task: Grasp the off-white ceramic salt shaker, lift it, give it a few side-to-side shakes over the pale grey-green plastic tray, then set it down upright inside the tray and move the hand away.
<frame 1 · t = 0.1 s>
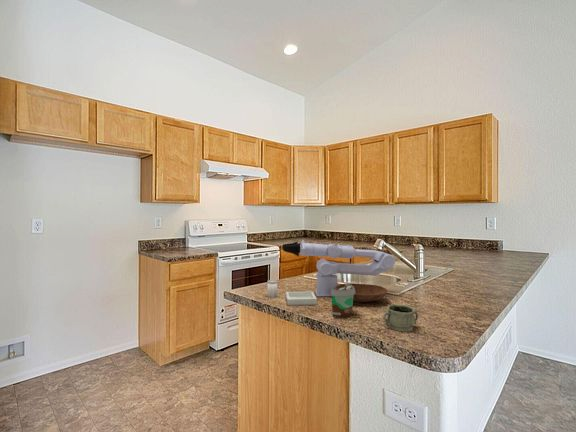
hand: (283, 247, 138), 22 cm above the countertop, tool horizontal, fingers open, 7 cm apart
tray: (300, 301, 129), on the countertop
food container: (346, 315, 112), on the countertop
vessel: (400, 327, 100), on the countertop
shaker: (272, 296, 136), on the countertop
bowl: (360, 300, 131), on the countertop
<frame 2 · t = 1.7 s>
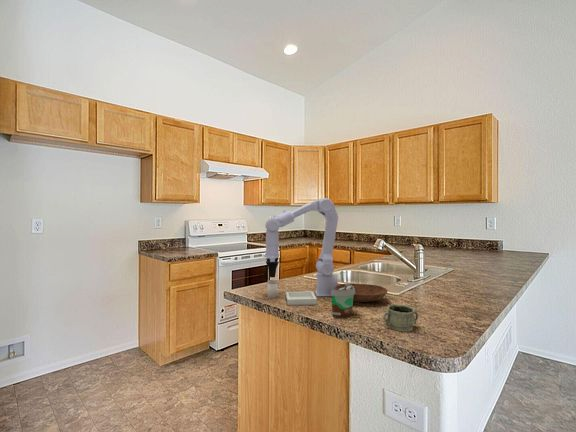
hand: (272, 275, 136), 9 cm above the countertop, tool pointing down, fingers open, 7 cm apart
nothing on the countertop moved.
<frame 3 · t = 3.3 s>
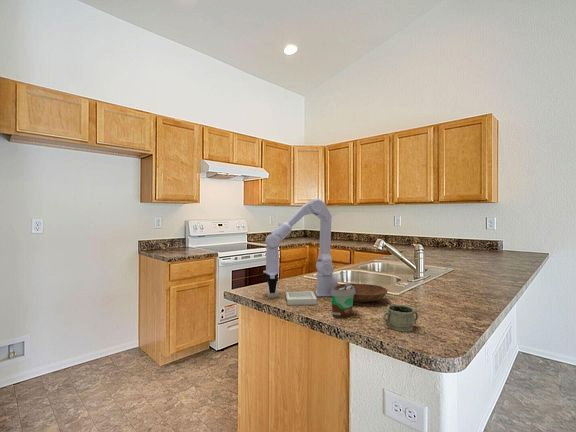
hand: (272, 291, 136), 2 cm above the countertop, tool pointing down, fingers closed on shaker, 4 cm apart
shaker: (272, 296, 136), on the countertop, touching gripper
everything else where it was.
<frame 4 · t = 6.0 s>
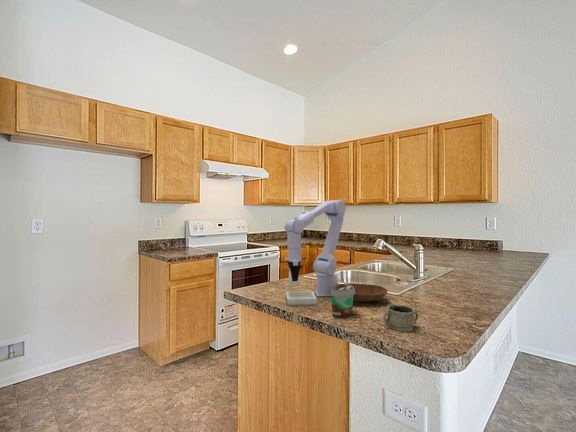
hand: (294, 279, 129), 9 cm above the countertop, tool pointing down, fingers closed on shaker, 4 cm apart
shaker: (294, 284, 129), point 7 cm above the countertop, touching gripper
everything else where it was.
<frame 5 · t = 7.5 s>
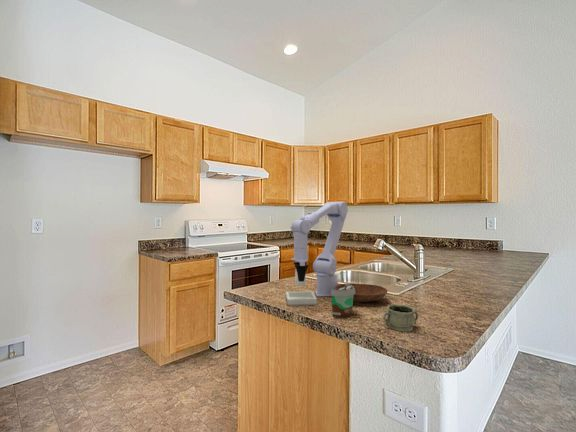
hand: (300, 280, 129), 9 cm above the countertop, tool pointing down, fingers closed on shaker, 4 cm apart
shaker: (300, 285, 129), point 7 cm above the countertop, touching gripper
everything else where it was.
when the fingers open (4 cm above the countertop, at t = 8.7 s): shaker drops 1 cm, resting on tray.
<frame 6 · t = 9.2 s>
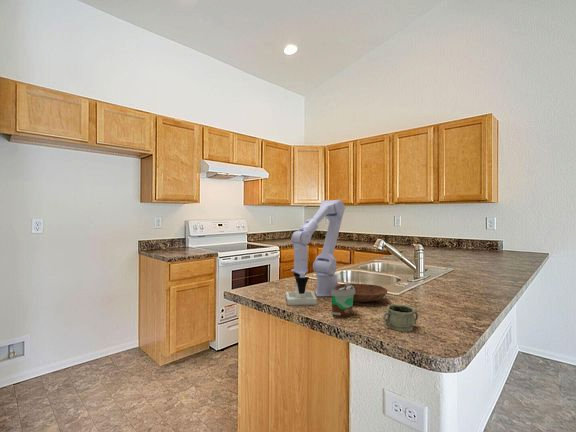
hand: (300, 291, 129), 4 cm above the countertop, tool pointing down, fingers open, 7 cm apart
shaker: (300, 299, 129), resting on tray
everything else where it was.
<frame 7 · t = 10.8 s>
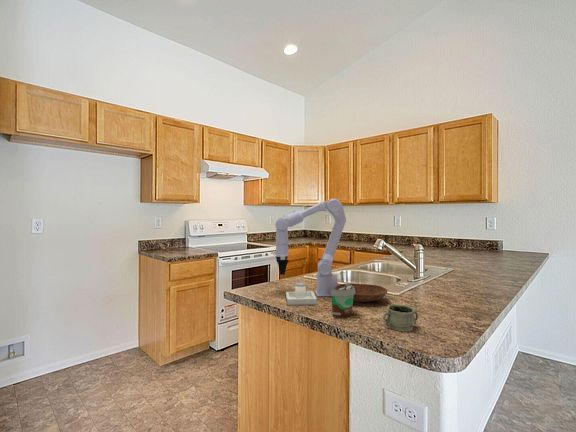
hand: (282, 273, 141), 9 cm above the countertop, tool pointing down, fingers open, 7 cm apart
nothing on the countertop moved.
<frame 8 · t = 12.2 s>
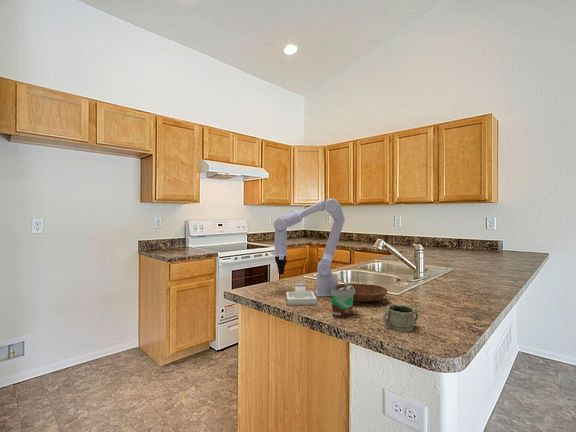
hand: (280, 272, 142), 9 cm above the countertop, tool pointing down, fingers open, 7 cm apart
nothing on the countertop moved.
at the end: shaker 0.2 cm off-centre on the tray, point 0.5 cm above the tray's base; shaker tilted 0°; the gripper is holding nothing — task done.
